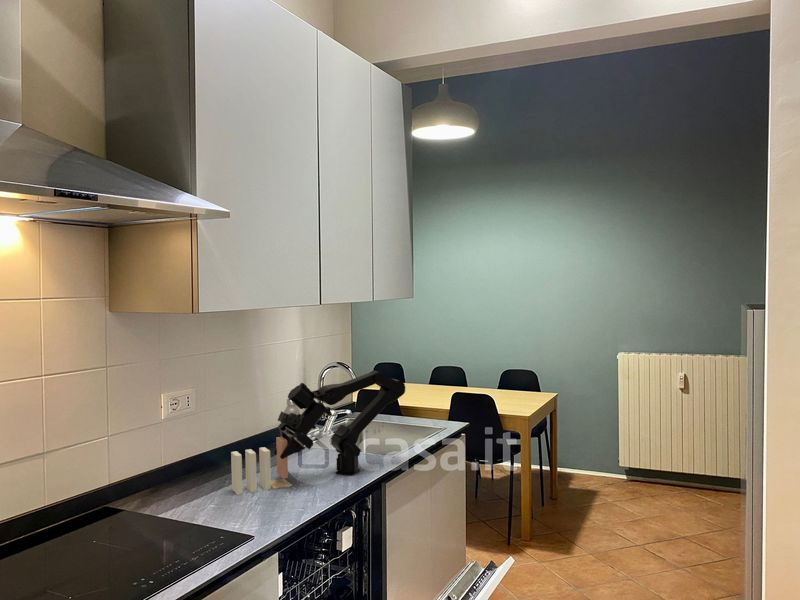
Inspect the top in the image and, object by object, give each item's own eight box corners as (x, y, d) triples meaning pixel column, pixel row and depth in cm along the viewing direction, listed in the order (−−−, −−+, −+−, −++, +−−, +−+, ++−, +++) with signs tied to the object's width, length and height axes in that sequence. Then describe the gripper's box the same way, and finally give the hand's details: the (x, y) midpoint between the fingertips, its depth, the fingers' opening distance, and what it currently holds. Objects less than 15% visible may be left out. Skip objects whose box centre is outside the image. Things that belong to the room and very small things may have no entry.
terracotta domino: (282, 473, 207) (281, 436, 207) (287, 477, 202) (287, 440, 202) (276, 474, 206) (276, 437, 206) (282, 478, 202) (281, 440, 201)
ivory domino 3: (265, 484, 205) (264, 447, 204) (270, 488, 200) (270, 450, 199) (260, 485, 204) (259, 447, 203) (265, 489, 199) (264, 451, 199)
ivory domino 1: (237, 488, 200) (236, 451, 200) (242, 493, 195) (241, 455, 195) (231, 489, 199) (231, 452, 199) (236, 494, 194) (235, 456, 194)
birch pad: (283, 479, 209) (283, 478, 209) (292, 486, 202) (292, 484, 202) (266, 482, 206) (266, 481, 206) (273, 489, 199) (273, 488, 199)
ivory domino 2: (251, 486, 202) (250, 449, 202) (256, 491, 197) (255, 453, 197) (246, 487, 201) (245, 449, 201) (251, 492, 197) (250, 453, 196)
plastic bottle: (280, 452, 242) (279, 400, 241) (289, 448, 248) (288, 397, 248) (295, 454, 240) (294, 401, 239) (304, 449, 246) (303, 398, 245)
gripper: (283, 398, 214) (251, 434, 209) (303, 407, 198) (269, 447, 192) (305, 418, 218) (275, 455, 213) (327, 429, 202) (294, 469, 197)
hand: (277, 456), depth 204 cm, fingers closed on terracotta domino, 5 cm apart
